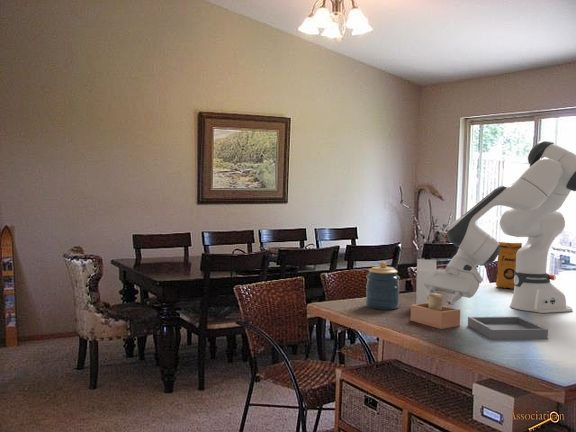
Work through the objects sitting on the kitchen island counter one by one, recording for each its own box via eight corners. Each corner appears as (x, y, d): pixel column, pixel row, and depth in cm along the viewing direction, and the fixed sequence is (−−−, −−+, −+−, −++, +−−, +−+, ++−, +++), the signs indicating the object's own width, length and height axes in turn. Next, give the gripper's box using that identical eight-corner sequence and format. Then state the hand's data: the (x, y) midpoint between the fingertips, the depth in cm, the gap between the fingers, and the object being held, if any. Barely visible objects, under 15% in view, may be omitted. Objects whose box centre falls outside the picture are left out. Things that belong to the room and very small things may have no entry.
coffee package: (522, 291, 261) (524, 243, 261) (494, 288, 267) (495, 242, 267) (524, 288, 270) (526, 242, 269) (497, 285, 276) (498, 240, 275)
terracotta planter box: (428, 317, 202) (429, 302, 202) (459, 325, 190) (460, 309, 190) (410, 320, 197) (410, 304, 197) (441, 329, 185) (441, 312, 185)
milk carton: (435, 311, 214) (436, 261, 213) (416, 310, 215) (417, 260, 214) (434, 307, 221) (435, 259, 220) (415, 306, 222) (417, 258, 221)
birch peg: (438, 321, 196) (439, 293, 196) (443, 324, 191) (444, 295, 191) (426, 321, 196) (426, 293, 195) (430, 324, 191) (431, 295, 191)
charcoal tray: (518, 325, 192) (519, 316, 192) (547, 339, 174) (548, 329, 174) (467, 325, 190) (467, 316, 190) (491, 339, 173) (492, 329, 172)
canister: (406, 308, 218) (407, 262, 218) (380, 311, 211) (381, 264, 211) (383, 302, 229) (384, 259, 229) (358, 305, 222) (359, 260, 222)
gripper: (432, 262, 206) (412, 290, 201) (478, 268, 189) (458, 300, 184) (440, 273, 208) (421, 302, 203) (486, 280, 191) (466, 312, 186)
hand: (439, 301), depth 193 cm, fingers open, 8 cm apart
